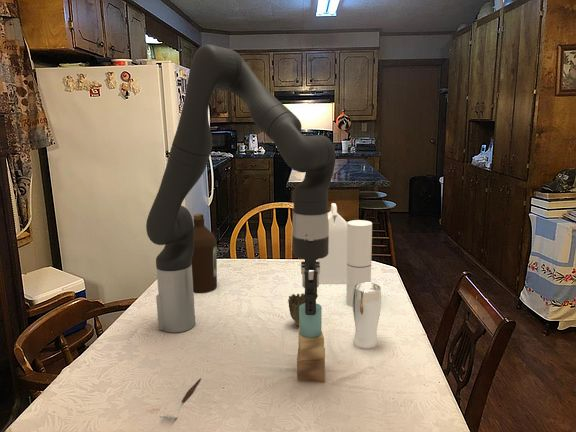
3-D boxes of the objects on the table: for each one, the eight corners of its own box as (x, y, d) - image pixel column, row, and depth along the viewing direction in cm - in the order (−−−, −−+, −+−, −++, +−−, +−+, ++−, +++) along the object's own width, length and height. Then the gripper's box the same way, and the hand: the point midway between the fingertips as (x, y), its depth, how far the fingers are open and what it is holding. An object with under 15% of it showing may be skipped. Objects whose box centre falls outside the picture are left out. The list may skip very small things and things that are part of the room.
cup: (313, 332, 124) (313, 304, 122) (286, 330, 125) (285, 302, 124) (317, 320, 131) (317, 293, 129) (291, 318, 132) (291, 291, 131)
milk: (352, 284, 158) (353, 208, 152) (317, 284, 158) (317, 208, 152) (348, 272, 170) (349, 201, 164) (316, 272, 170) (316, 201, 164)
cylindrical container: (343, 306, 140) (344, 224, 135) (349, 297, 147) (350, 219, 141) (367, 309, 138) (369, 226, 132) (372, 300, 144) (374, 221, 139)
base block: (297, 381, 102) (296, 360, 101) (298, 367, 108) (298, 347, 107) (324, 382, 101) (324, 361, 100) (324, 367, 107) (324, 347, 106)
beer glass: (362, 352, 113) (364, 294, 110) (346, 340, 119) (347, 285, 116) (385, 345, 116) (387, 288, 113) (368, 334, 122) (369, 280, 119)
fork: (206, 381, 103) (206, 373, 103) (171, 427, 88) (171, 418, 88) (195, 379, 104) (195, 371, 103) (159, 425, 89) (158, 416, 88)
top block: (300, 360, 101) (300, 339, 100) (298, 349, 106) (298, 328, 105) (324, 359, 101) (324, 337, 100) (320, 347, 106) (320, 327, 105)
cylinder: (299, 337, 100) (298, 311, 99) (299, 327, 105) (299, 302, 104) (321, 338, 100) (321, 312, 99) (321, 327, 105) (321, 302, 103)
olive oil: (186, 295, 150) (181, 219, 145) (186, 283, 161) (181, 212, 155) (220, 292, 153) (216, 217, 147) (217, 280, 163) (214, 210, 157)
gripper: (293, 224, 104) (293, 293, 108) (291, 242, 91) (292, 320, 94) (327, 224, 104) (326, 293, 108) (330, 242, 90) (329, 320, 94)
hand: (310, 305), depth 101 cm, fingers open, 8 cm apart
